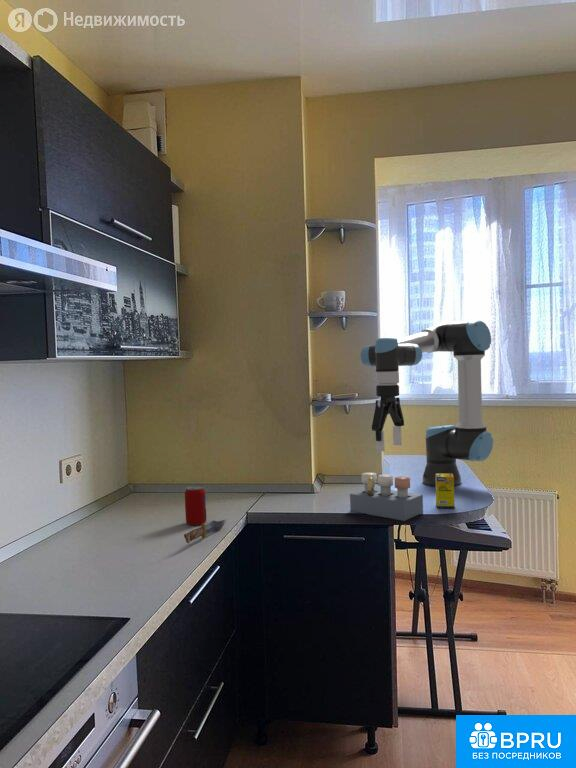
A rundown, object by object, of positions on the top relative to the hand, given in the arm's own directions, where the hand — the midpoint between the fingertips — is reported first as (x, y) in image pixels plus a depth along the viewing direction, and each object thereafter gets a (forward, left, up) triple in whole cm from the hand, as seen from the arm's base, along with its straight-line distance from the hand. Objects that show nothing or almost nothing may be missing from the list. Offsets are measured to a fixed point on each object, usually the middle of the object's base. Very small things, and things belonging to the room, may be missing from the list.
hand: (389, 448), depth 194 cm
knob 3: (0, +5, -18) cm, 18 cm away
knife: (+54, -31, -22) cm, 66 cm away
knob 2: (0, -2, -18) cm, 18 cm away
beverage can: (+46, -46, -22) cm, 69 cm away
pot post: (+4, -5, -16) cm, 17 cm away
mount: (0, -2, -22) cm, 22 cm away
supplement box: (-17, +11, -22) cm, 30 cm away
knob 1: (0, -8, -18) cm, 20 cm away
